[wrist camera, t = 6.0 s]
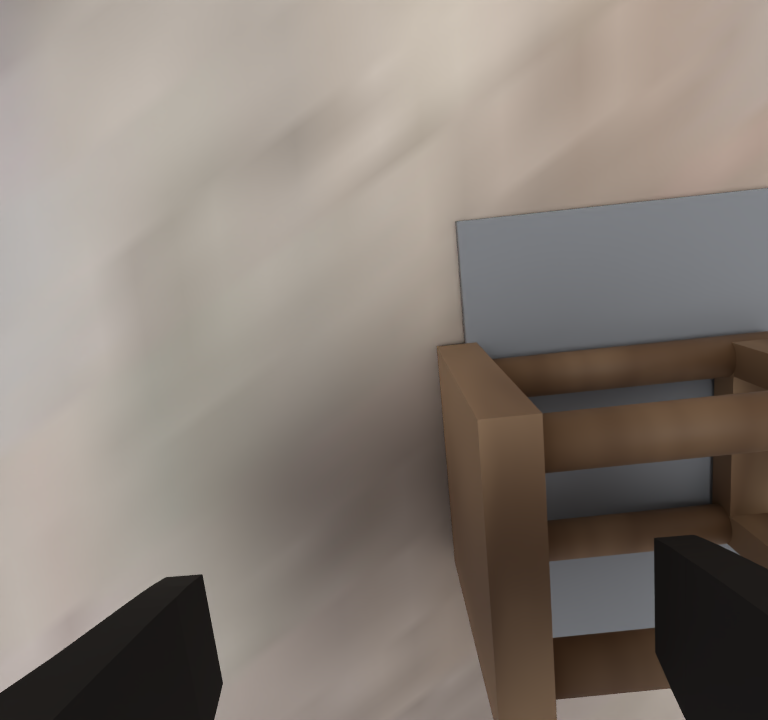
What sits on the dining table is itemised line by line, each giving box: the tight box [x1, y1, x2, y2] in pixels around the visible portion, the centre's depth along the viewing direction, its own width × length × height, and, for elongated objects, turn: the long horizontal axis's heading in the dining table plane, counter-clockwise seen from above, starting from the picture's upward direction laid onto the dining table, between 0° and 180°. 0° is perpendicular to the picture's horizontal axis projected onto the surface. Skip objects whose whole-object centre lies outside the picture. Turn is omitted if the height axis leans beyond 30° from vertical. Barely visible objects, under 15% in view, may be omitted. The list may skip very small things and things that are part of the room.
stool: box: [437, 331, 768, 720], centre depth 13 cm, size 6×6×8 cm
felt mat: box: [455, 188, 768, 638], centre depth 16 cm, size 12×8×1 cm
